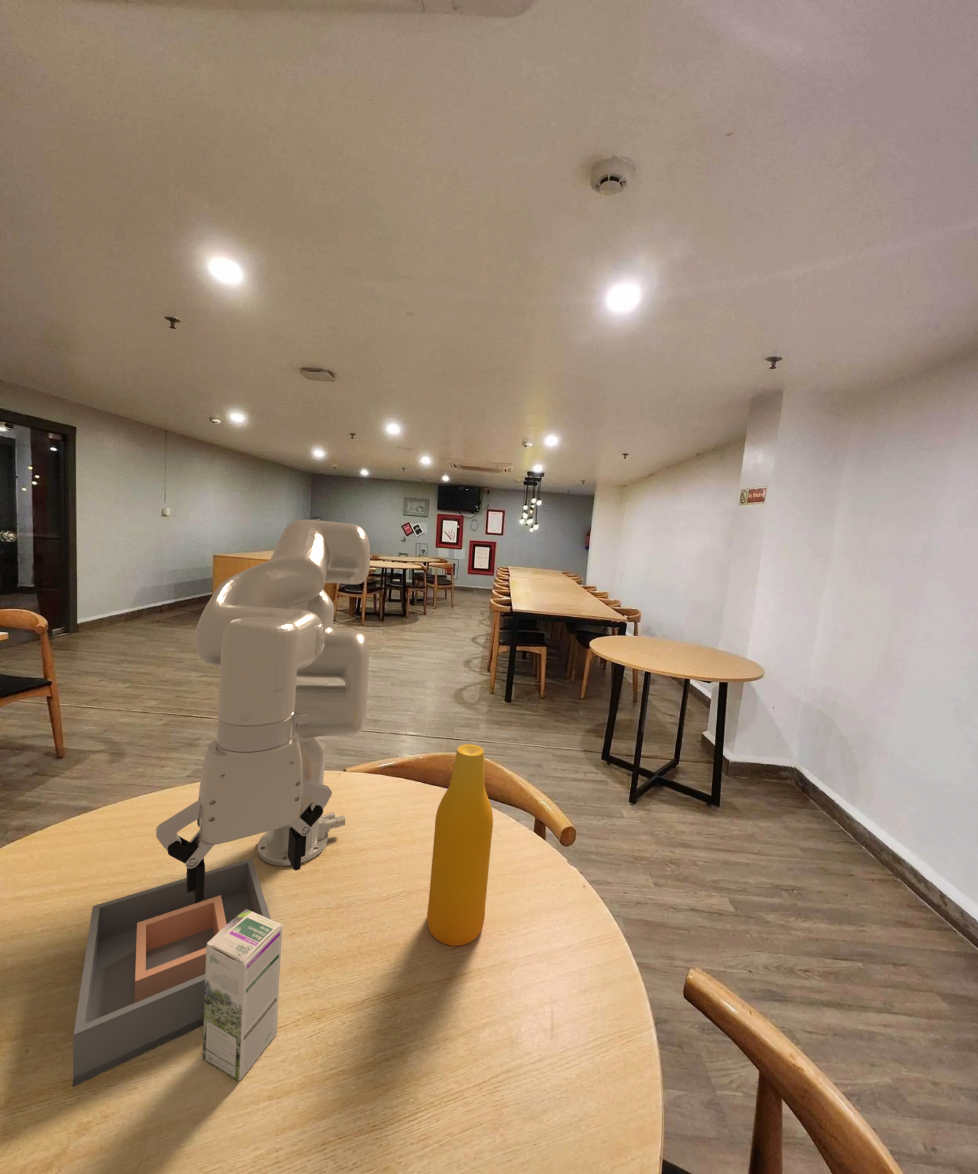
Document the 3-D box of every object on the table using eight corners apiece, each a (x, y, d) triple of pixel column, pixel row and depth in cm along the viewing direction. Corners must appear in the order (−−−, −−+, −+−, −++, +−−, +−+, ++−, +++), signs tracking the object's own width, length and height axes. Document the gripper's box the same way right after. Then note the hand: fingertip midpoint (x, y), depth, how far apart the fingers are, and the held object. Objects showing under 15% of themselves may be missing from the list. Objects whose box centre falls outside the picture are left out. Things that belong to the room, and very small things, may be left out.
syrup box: (279, 1033, 55) (285, 920, 54) (237, 1086, 49) (244, 961, 48) (242, 1014, 56) (248, 904, 55) (198, 1063, 51) (204, 942, 50)
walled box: (250, 892, 76) (252, 858, 75) (277, 990, 60) (279, 948, 59) (91, 946, 64) (92, 906, 63) (72, 1087, 48) (73, 1035, 47)
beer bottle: (493, 917, 75) (509, 748, 73) (464, 959, 67) (482, 770, 65) (447, 893, 79) (460, 733, 77) (414, 930, 71) (429, 751, 69)
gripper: (325, 708, 58) (317, 836, 59) (159, 730, 48) (152, 885, 49) (345, 729, 52) (336, 871, 53) (160, 759, 42) (153, 935, 43)
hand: (248, 878), depth 51 cm, fingers open, 9 cm apart
